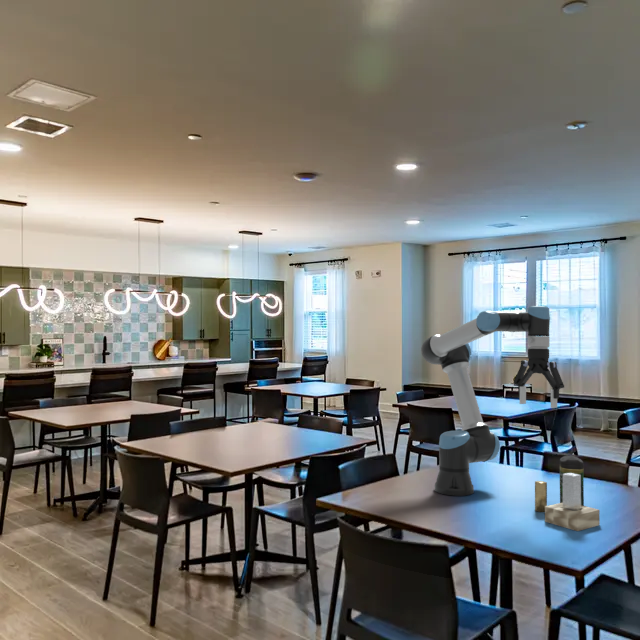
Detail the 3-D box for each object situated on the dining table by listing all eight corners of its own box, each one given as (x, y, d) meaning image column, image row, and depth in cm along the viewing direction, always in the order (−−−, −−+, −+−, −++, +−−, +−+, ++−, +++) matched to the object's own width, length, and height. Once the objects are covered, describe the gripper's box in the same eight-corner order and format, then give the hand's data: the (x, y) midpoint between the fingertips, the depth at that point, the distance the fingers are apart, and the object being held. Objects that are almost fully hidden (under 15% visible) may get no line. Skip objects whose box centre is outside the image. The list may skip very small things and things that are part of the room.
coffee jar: (558, 504, 226) (558, 453, 227) (581, 506, 224) (581, 454, 225) (561, 511, 217) (561, 458, 218) (585, 513, 215) (585, 459, 216)
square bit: (562, 516, 203) (562, 474, 204) (570, 514, 206) (569, 472, 206) (573, 519, 200) (573, 476, 200) (580, 517, 202) (580, 474, 203)
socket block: (544, 521, 204) (544, 506, 205) (566, 516, 211) (566, 501, 211) (577, 531, 194) (577, 515, 195) (599, 525, 201) (599, 509, 201)
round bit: (532, 510, 218) (532, 481, 218) (539, 508, 220) (539, 480, 221) (542, 513, 215) (542, 484, 215) (549, 511, 217) (549, 482, 217)
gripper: (504, 347, 235) (504, 402, 235) (561, 349, 214) (561, 410, 214) (517, 347, 239) (517, 401, 239) (574, 349, 218) (574, 408, 218)
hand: (537, 405), depth 226 cm, fingers open, 13 cm apart
